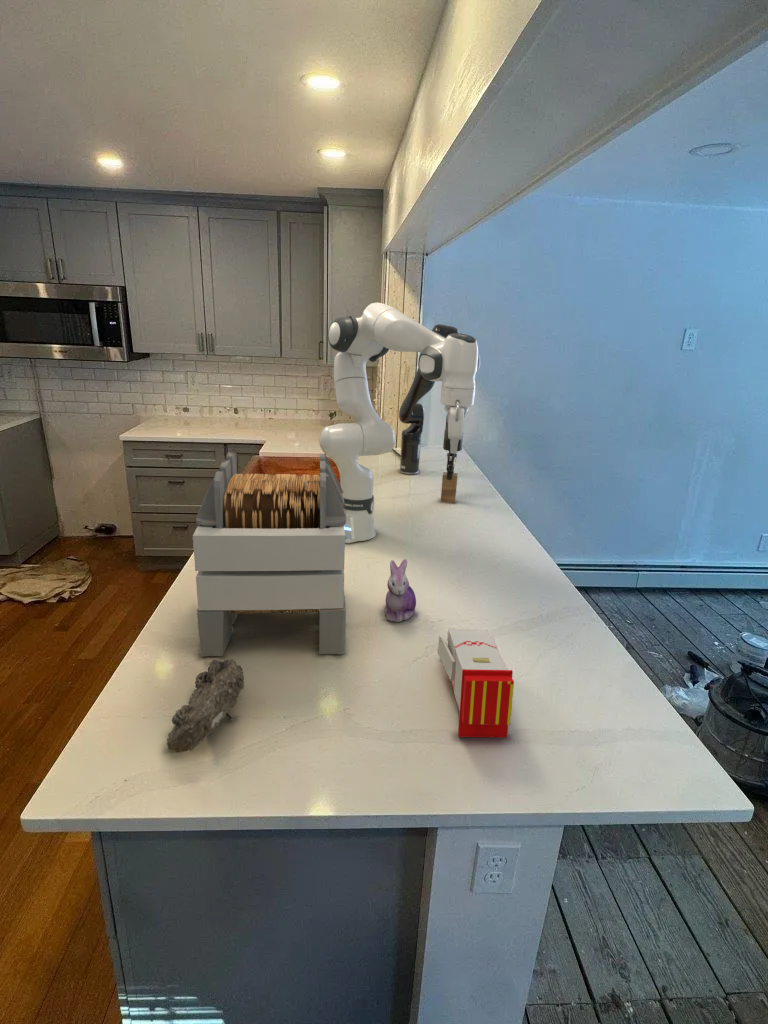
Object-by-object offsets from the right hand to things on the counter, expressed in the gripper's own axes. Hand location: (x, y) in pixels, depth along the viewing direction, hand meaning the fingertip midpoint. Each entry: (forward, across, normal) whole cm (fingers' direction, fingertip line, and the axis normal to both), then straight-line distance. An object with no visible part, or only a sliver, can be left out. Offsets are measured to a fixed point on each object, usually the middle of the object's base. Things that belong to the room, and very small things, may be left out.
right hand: (449, 476), depth 233 cm
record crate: (+10, -107, +34) cm, 113 cm away
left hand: (-29, -72, -4) cm, 78 cm away
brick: (+11, 0, 0) cm, 11 cm away
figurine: (+10, -97, +5) cm, 98 cm away
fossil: (+10, -144, +33) cm, 148 cm away
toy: (+10, -125, -15) cm, 126 cm away
